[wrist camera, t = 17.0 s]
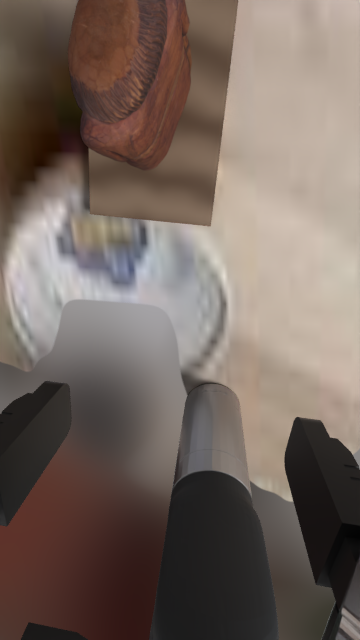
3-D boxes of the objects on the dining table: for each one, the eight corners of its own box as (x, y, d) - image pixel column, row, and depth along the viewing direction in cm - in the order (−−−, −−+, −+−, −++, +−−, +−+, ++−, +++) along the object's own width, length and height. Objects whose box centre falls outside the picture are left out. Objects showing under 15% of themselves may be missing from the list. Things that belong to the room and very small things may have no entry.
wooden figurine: (149, 48, 32) (75, -134, 15) (202, 75, 32) (188, -72, 15) (113, 160, 36) (25, 117, 19) (160, 183, 36) (113, 161, 20)
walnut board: (210, 225, 39) (210, 226, 37) (95, 213, 40) (90, 214, 39) (236, 11, 31) (238, -2, 29) (92, 4, 32) (85, -8, 31)
